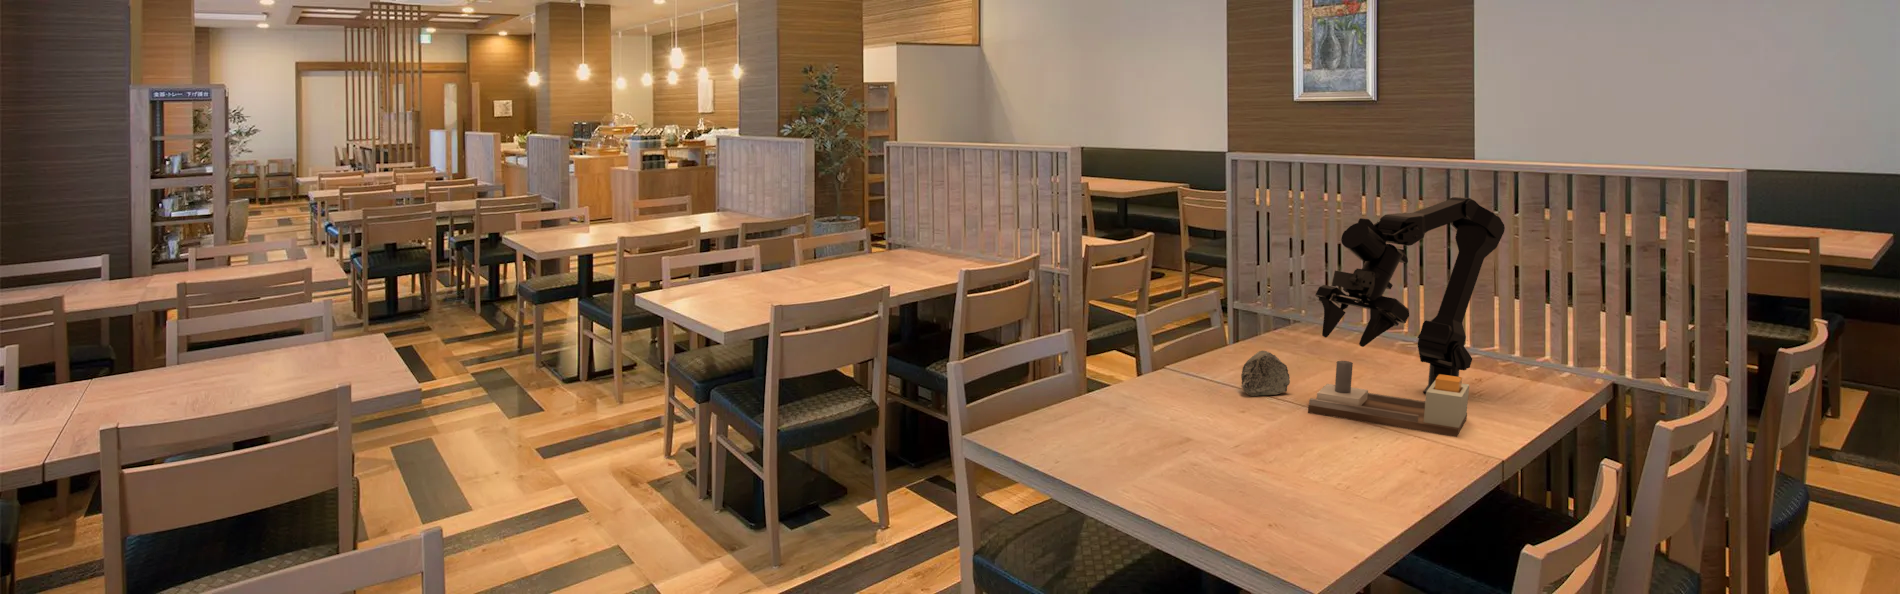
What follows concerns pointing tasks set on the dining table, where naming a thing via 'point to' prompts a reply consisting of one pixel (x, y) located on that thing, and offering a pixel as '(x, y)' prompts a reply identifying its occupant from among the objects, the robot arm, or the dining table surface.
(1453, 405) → the button housing
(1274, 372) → the stone
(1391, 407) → the track
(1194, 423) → the dining table surface
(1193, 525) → the dining table surface
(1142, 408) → the dining table surface
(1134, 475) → the dining table surface
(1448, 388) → the button
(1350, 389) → the carriage
